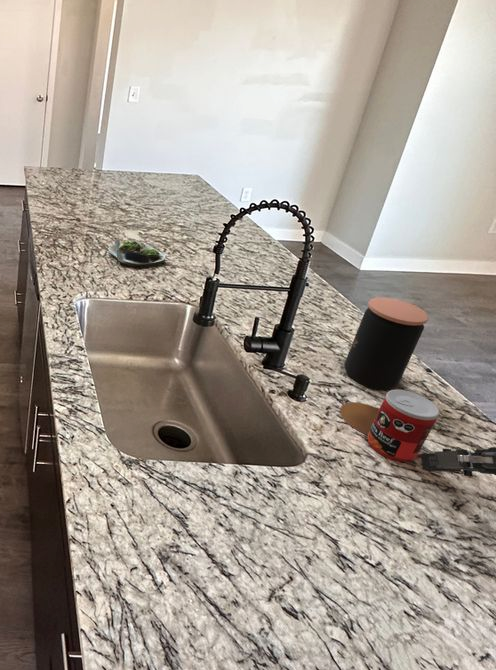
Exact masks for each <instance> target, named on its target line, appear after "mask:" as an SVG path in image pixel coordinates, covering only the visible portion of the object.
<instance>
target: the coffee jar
mask: <svg viewBox="0 0 496 670" xmlns="http://www.w3.org/2000/svg"><path fill="white" fill-rule="evenodd" d="M367 306H368V307H367V308H366V310H365V311H364V312H363V315H362V318H361V321H360V323H359V325H358V328H357V330H356V333H355V336H354V338H353V341H352V342H351V346H350V348H349V351H348V353H347V356H346V358H345V361H344V369H345V372H346V374H347V376H348V377H349V378H351V379H352V380H353V381H355V382H356V383H358V384H360V385H362V386H364V387H366V388H370V389H374V390H378V391H379V390H380V391H388V390H389V391H390V390H392V389H393V388H395V387H398V386H399V384H400V382H401V380H402V378H403V376H404V373H405V371H406V370H407V367H408V365H409V362H410V361H411V358H412V355H413V353H414V352H415V349H416V347H417V345H418V342H419V341H420V339H421V336H422V334H423V332H424V329H425V324H427V322H428V321H429V318H430V317H429V315H428V313H427V312H426V311H424V310H423V309H422V308H420V307H418V306H417V305H414V304H412V303H409V302H407V301H404V300H400V299H397V298H391V297H382V296H381V297H373V298H371V299H369V301H368V303H367Z"/></svg>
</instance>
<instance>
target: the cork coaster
mask: <svg viewBox="0 0 496 670" xmlns="http://www.w3.org/2000/svg"><path fill="white" fill-rule="evenodd" d="M379 409H380V408H378V407H376V406H373V405H370V404H366V403H361V402H347V403H344V404H343V405H342V406H341V407H340V410H339V413H340V416H341V418H342V419H343V420H344V422H346V423H347V424H348V425H349V426H350V427H351V428H353V429H355V431H358V432H359V433H361V434H363V435H365V436H368V433H369V431H370V428H371V426H372V424H373V422H374V420H375V418H376V415H377V413H378V411H379Z"/></svg>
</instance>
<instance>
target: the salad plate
mask: <svg viewBox="0 0 496 670" xmlns="http://www.w3.org/2000/svg"><path fill="white" fill-rule="evenodd" d="M113 242H114V244H112V245H110V246H109V247H108V252H109V253H110V254H111V255H112V256H113V257H115V258H116V259H117V261H118V262H120V263H121V264H122V265H124V266H126V267H132V268H139V269H141V268H153V267H157V266H159V265H161V264H163V263H164V262H165V261H166V255H165V254H164V253H162V252H160V251H159V250H157V249H156V248H155V247H153V246H151V245H150V244H147V243H144V242H137V241H136V240H132V241H130V240H129V241H127V239H125V240H124V241H123V243H121V241H120V240H119V239H115V240H114V241H113Z"/></svg>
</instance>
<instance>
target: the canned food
mask: <svg viewBox="0 0 496 670" xmlns="http://www.w3.org/2000/svg"><path fill="white" fill-rule="evenodd" d="M378 409H379V411H378V413H377V415H376V418H375V420H374V422H373V424H372V426H371V428H370V431H369V433H368V435H367V442H368V444H369V446H370V447H371V448H372V449H373V450H374V451H375V452H377V453H378V454H380V455H381V456H383V457H385V458H387V459H390V460H393V461H397V462H405V463H407V462H411V461H413V460H414V459H415V458H417V457H418V456H419V453H420V451H421V450H422V448H423V446H424V444H425V442H426V440H427V439H428V437H429V435H430V433H431V431H432V429H433V427H434V426H435V424H436V421H437V420H438V417H439V415H440V409H439V407H438V406H437V405H436V404H435V403H434V402H432V401H431V400H429V399H428V398H427V397H425V396H423V395H421V394H418V393H415V392H414V391H409V390H404V389H390V390H389V391H388V392H387V393H386V394H385V397H384V398H383V400H382V402H381V404H380V407H379V408H378Z"/></svg>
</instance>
